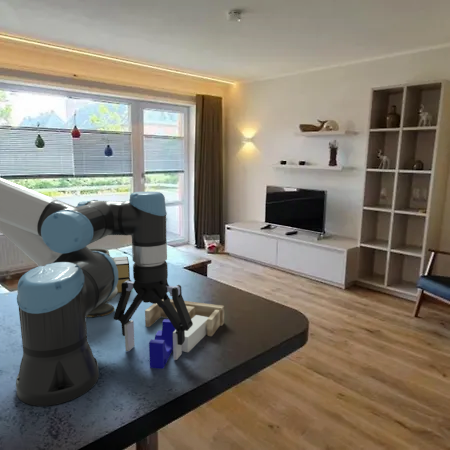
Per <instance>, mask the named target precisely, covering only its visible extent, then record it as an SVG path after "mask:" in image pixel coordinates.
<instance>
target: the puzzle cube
mask: <svg viewBox="0 0 450 450" xmlns="http://www.w3.org/2000/svg"><path fill="white" fill-rule="evenodd" d="M112 258H113V259H114V260H115V262H116V266H117V269H118V283H117V286H116V287H117V289H118V292H117V294H121V292H122V286H121V285H122V283H123V282H125V281H127V280H129V279H130V280H131V277H130V261H129V257H128V256H127V255H126V256H115V257H112Z"/></svg>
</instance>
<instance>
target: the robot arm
mask: <svg viewBox="0 0 450 450" xmlns="http://www.w3.org/2000/svg"><path fill="white" fill-rule="evenodd" d="M167 213H168V212H167V209H166V197H165V195H164V194H163V192H160V191H134V192H132V193H130V194H129V199H128V200H125V201H123V200H122V201H120V200H98V199H92V200H81V201H79V202H78V203H77V206H74V205H72V204H70V203H66V202H63V201H62V200H58V199H56V198H54V197H51V196H48V195H46V194H43V193H41V192H38V191H36V190H33V189H31V188H29V187H25V186H23V185H21V184H18V183H15V182H12V181H10V180H7V179H5V178H2V177H0V233H1V234H2V235H4V237H6V238H7V239H8V240H9V241H10V242H11V243H12V244H13V245H15V247H16V248H18V249H19V250H20V251H21V252H22V253H23V254H24V255H25V256H27V257H28V258H29V260H31V261H32V262H34V264H36V265H37V266H36V267H34V268H31V269H30V270H28V271H26V272H25V273H24V274H22V276H20V278H19V280H18V283H17V294H16V304H17V306H18V313H19V323H20V333H21V344H22V351H23V352H22V353H23V354H22V358H21V361H20V365H19V371H18V374H17V377H16V381H15V389H16V395H17V397H18V399H19V400H20V401H21V402H23V403H24V404H28V405H30V406H36V407H39V406H41V407H43V406H45V407H46V406H55V405H59V404H63V403H66V402H70V401H73V400H75V399H77V398H79V397H81V396H82V395H84V394H86V393H88V392H89V391H90V390H91V389H92V388H93V387H94V386H95V385H96V383H97V382H98V379H99V376H100V371H99V363H98V361H97V359H96V358H95V355H94V354H93V351H92V348H91V346H90V343H89V340H88V328H87V317H86V316H87V315H88V314H89V313H91V312H92V311H93V310H94V309H95V308H96V307H97V306H98V305H100V304H101V303H102V302H104V301H106V300H107V299H108V297H109V296H110V295H111V294H112V293H113V291H114V290H115V288H116V286H117V283H118V269H117V266H116V264H115V262H114V261H113V259H112V258H113V257H112V256H111V255H110V256H108V255H107V254H105V253H103V252H99V251H91V250H90V249H91V248H88V246H89V245H91V244H93V243H94V242H97V241H100V240H101V239H104V238H105V237H107V236H130V237H131V253H132V256H131V257H132V262H133V264H132V273H133V275H132V276H133V280H134V281H132V280H131V278H130V279H129V280H127V281H125V282H123V283H122V285H121V286H122V292H121V293H120V295H119V299H118V301H117V305H116V307H115V310H114V314H113V317H112V318H113V320H114V321H119V322H120V324H121V335H122V336H123V337H124V344H125V346H124V347H125V351H126V352H130V351H131V350H132V349H133V348H135V345H136V344H135V327H134V325H135V323H134V320H132V318H133V315H134V314H135V313H136V311H137V309H138V308H139V306H140V305H141V304H142V303H145V304H146V303H148V304H149V303H150V304H152V305H153V304H156V303H157V304H158V306H159V307H160V308H162V310H163V311H164V313H165V314H166V316H167V317H168V318H167V319H169V320H170V322H171V323H172V325H173V326H174V328H175V331H174V332H173V350H172V352H173V360H174V361H176V360H178V359H179V358H180V357H181V355H182V353H183V351H182V349H181V345H182V344H183V343H184V341H185V331H188V330H189V329H190V327H191V326H192V325H193V323H192V320H191V318H190V315H189V313H188V310H187V307H186V305H185V302H184V301H185V299H184V298H183V295H182V293H183V292H182V286H181V285H180V284H176V286H175V285H169V283H168V276H169V273H168V272H169V271H168V262H167V260H168V249H167V248H168V246H167ZM111 257H112V258H111ZM133 290H134V291H135V292H136V293H135V294H136V295H135V296H134V298H133V299H132V302H131V304H130V305H129V306H128V308H127V305H128V303H129V300H130V297H131V293H132V292H133ZM167 293H169V295H168V294H167ZM169 296H170V297H171V298H170V297H169ZM162 299H163V300H164V301H162ZM170 299H173V303H174V305H175V308H176V310H177V311H176V310H175V308H174V307H173V305H172V304H171V302H170ZM126 308H127V309H126Z"/></svg>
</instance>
